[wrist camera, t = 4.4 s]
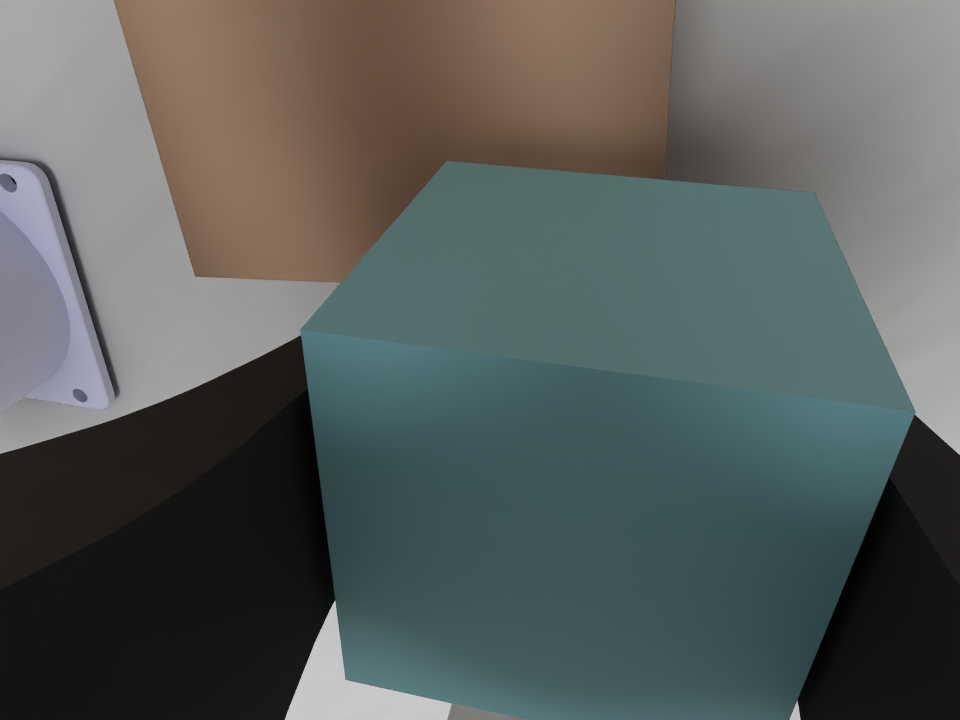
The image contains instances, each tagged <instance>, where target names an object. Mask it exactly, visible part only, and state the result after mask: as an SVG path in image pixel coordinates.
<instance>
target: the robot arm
mask: <svg viewBox="0 0 960 720" xmlns="http://www.w3.org/2000/svg"><path fill="white" fill-rule="evenodd" d="M10 176H11V177H12V178H13V179H14V180H15V182H16V184H17V185H16V184H14V183H13V181H12V179H11V178H10ZM23 397H24V398H30V399H36V400H43V401H49V402H55V403H61V404H68V405H74V406H80V407H86V408H92V409H99V410H101V409H105V408H107V407H108V406H109V405H111V404H112V403H113V402H114V399H115V394H114V391H113V387H112V384H111V381H110V378H109V374H108V371H107V368H106V365H105V361H104V358H103V355H102V352H101V348H100V345H99V342H98V339H97V335H96V332H95V329H94V326H93V322H92V319H91V316H90V313H89V309H88V306H87V303H86V300H85V296H84V293H83V290H82V287H81V283H80V280H79V277H78V274H77V270H76V267H75V264H74V261H73V257H72V254H71V251H70V248H69V244H68V241H67V238H66V235H65V231H64V228H63V225H62V222H61V218H60V215H59V212H58V209H57V205H56V202H55V199H54V196H53V192H52V189H51V186H50V183H49V180H48V178H47V176H46V174H45V173H44V172H43V171H42V170H41V169H40V168H39V167H37V166H36V165H34V164H31V163H28V162H18V161H7V160H0V415H1V414H2V413H4V412H5V411H6V410H8V409H9V408H10V407H11V406H13V405H14V404H15V403H17V402H18V401H19V400H21V399H22V398H23ZM334 601H335V593H334V585H333V578H332V570H331V562H330V554H329V547H328V539H327V531H326V523H325V516H324V508H323V500H322V493H321V485H320V477H319V469H318V462H317V454H316V446H315V438H314V431H313V423H312V415H311V408H310V400H309V392H308V384H307V377H306V369H305V361H304V353H303V346H302V338H301V336H299V337H297V338H295V339H293V340H291V341H289V342H288V343H286V344H284V345H282V346H280V347H278V348H276V349H274V350H273V351H271V352H269V353H267V354H265V355H263V356H261V357H259V358H257V359H255V360H253V361H250V362H248V363H246V364H244V365H242V366H240V367H238V368H236V369H234V370H232V371H230V372H227V373H225V374H223V375H221V376H219V377H217V378H215V379H213V380H211V381H209V382H206V383H204V384H202V385H200V386H198V387H196V388H193V389H191V390H189V391H186V392H184V393H182V394H179V395H177V396H174V397H172V398H170V399H167V400H165V401H162V402H160V403H157V404H154V405H152V406H149V407H146V408H144V409H141V410H138V411H136V412H133V413H130V414H128V415H125V416H122V417H120V418H117V419H114V420H111V421H108V422H105V423H102V424H99V425H96V426H93V427H90V428H86V429H83V430H80V431H76V432H73V433H70V434H66V435H63V436H60V437H56V438H53V439H50V440H47V441H43V442H40V443H37V444H33V445H30V446H27V447H23V448H20V449H17V450H13V451H9V452H6V453H2V454H0V720H285V717H286V714H287V712H288V709H289V706H290V704H291V701H292V699H293V696H294V694H295V691H296V689H297V686H298V684H299V681H300V678H301V676H302V673H303V671H304V668H305V666H306V663H307V661H308V658H309V656H310V653H311V651H312V648H313V645H314V643H315V641H316V638H317V636H318V634H319V632H320V630H321V628H322V626H323V623H324V621H325V619H326V617H327V615H328V613H329V611H330V609H331V607H332V605H333V603H334ZM797 700H798V705H799V711H800V718H801V720H960V455H959V454H958V453H957V452H956V451H954V450H953V449H952V448H951V447H950V446H949V445H948V444H947V443H945V442H944V441H943V440H942V439H941V438H940V437H939V436H938V435H937V434H935V433H934V432H933V431H932V430H931V429H930V428H929V427H928V426H927V425H925V424H924V423H923V422H922V421H921V420H920V419H919V418H918V417H917V416H916V415H915V414H914V417H913V419H912V422H911V424H910V427H909V429H908V432H907V434H906V436H905V439H904V441H903V444H902V446H901V449H900V451H899V453H898V456H897V458H896V461H895V463H894V466H893V468H892V470H891V473H890V475H889V478H888V480H887V483H886V485H885V488H884V490H883V492H882V495H881V497H880V500H879V502H878V505H877V507H876V509H875V512H874V514H873V517H872V519H871V522H870V524H869V526H868V529H867V531H866V534H865V536H864V539H863V541H862V544H861V546H860V548H859V551H858V553H857V556H856V558H855V561H854V563H853V565H852V568H851V570H850V573H849V575H848V578H847V580H846V583H845V585H844V587H843V590H842V592H841V595H840V597H839V600H838V602H837V604H836V607H835V609H834V612H833V614H832V617H831V619H830V621H829V624H828V626H827V629H826V631H825V634H824V636H823V639H822V641H821V643H820V646H819V648H818V651H817V653H816V656H815V658H814V660H813V663H812V665H811V668H810V670H809V673H808V675H807V678H806V680H805V682H804V685H803V687H802V690H801V692H800V695H799V697H798V699H797Z"/></svg>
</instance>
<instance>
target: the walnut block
mask: <svg viewBox="0 0 960 720" xmlns="http://www.w3.org/2000/svg"><path fill="white" fill-rule="evenodd" d="M675 1H676V0H114V3H115V6H116V9H117V13H118V16H119V20H120V23H121V26H122V30H123V33H124V37H125V40H126V43H127V47H128V50H129V53H130V57H131V60H132V64H133V67H134V70H135V74H136V77H137V81H138V84H139V87H140V91H141V94H142V98H143V101H144V104H145V108H146V111H147V115H148V118H149V121H150V125H151V128H152V132H153V135H154V138H155V142H156V145H157V148H158V152H159V155H160V159H161V162H162V165H163V169H164V172H165V176H166V179H167V182H168V186H169V189H170V193H171V196H172V199H173V203H174V206H175V210H176V213H177V216H178V220H179V223H180V227H181V230H182V233H183V237H184V240H185V243H186V247H187V250H188V254H189V257H190V260H191V264H192V267H193V271H194V274H195V277H217V278H242V279H267V280H291V281H316V282H342V281H343V280H344V279H345V278H346V277H347V275H348V274H349V273H350V272H351V271H352V270H353V268H354V267H355V266H356V265H357V264H358V263H359V262H360V260H361V259H362V258H363V257H364V256H365V255H366V253H367V252H368V251H369V250H370V249H371V248H372V247H373V245H374V244H375V243H376V242H377V241H378V240H379V238H380V237H381V236H382V235H383V234H384V233H385V232H386V230H387V229H388V228H389V227H390V226H391V225H392V224H393V222H394V221H395V220H396V219H397V218H398V217H399V215H400V214H401V213H402V212H403V211H404V210H405V209H406V207H407V206H408V205H409V204H410V203H411V202H412V200H413V199H414V198H415V197H416V196H417V195H418V194H419V192H420V191H421V190H422V189H423V188H424V187H425V185H426V184H427V183H428V182H429V181H430V180H431V179H432V177H433V176H434V175H435V174H436V173H437V172H438V170H439V169H440V168H441V167H442V166H443V165H444V164H445V162H446V161H453V162H465V163H476V164H488V165H499V166H511V167H522V168H534V169H545V170H557V171H568V172H580V173H591V174H603V175H614V176H626V177H637V178H648V179H660V180H664V178H665V161H666V145H667V129H668V113H669V97H670V81H671V65H672V49H673V33H674V17H675Z"/></svg>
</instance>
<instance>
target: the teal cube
mask: <svg viewBox="0 0 960 720" xmlns="http://www.w3.org/2000/svg"><path fill="white" fill-rule="evenodd" d="M301 338H302V346H303V353H304V361H305V369H306V377H307V384H308V392H309V400H310V408H311V415H312V423H313V431H314V438H315V446H316V454H317V462H318V469H319V477H320V485H321V493H322V500H323V508H324V516H325V523H326V531H327V539H328V547H329V554H330V562H331V570H332V578H333V585H334V593H335V601H336V608H337V616H338V624H339V632H340V639H341V647H342V655H343V663H344V670H345V678H346V680H349V681H353V682H358V683H362V684H367V685H371V686H376V687H380V688H385V689H390V690H394V691H399V692H403V693H408V694H412V695H417V696H421V697H426V698H430V699H435V700H439V701H444V702H449V703H453V704H458V705H462V706H467V707H471V708H476V709H480V710H485V711H489V712H494V713H498V714H503V715H507V716H512V717H517V718H521V719H526V720H789V719H790V716H791V714H792V712H793V709H794V707H795V704H796V702H797V699H798V697H799V695H800V692H801V690H802V687H803V685H804V682H805V680H806V678H807V675H808V673H809V670H810V668H811V665H812V663H813V660H814V658H815V656H816V653H817V651H818V648H819V646H820V643H821V641H822V639H823V636H824V634H825V631H826V629H827V626H828V624H829V621H830V619H831V617H832V614H833V612H834V609H835V607H836V604H837V602H838V600H839V597H840V595H841V592H842V590H843V587H844V585H845V583H846V580H847V578H848V575H849V573H850V570H851V568H852V565H853V563H854V561H855V558H856V556H857V553H858V551H859V548H860V546H861V544H862V541H863V539H864V536H865V534H866V531H867V529H868V526H869V524H870V522H871V519H872V517H873V514H874V512H875V509H876V507H877V505H878V502H879V500H880V497H881V495H882V492H883V490H884V488H885V485H886V483H887V480H888V478H889V475H890V473H891V470H892V468H893V466H894V463H895V461H896V458H897V456H898V453H899V451H900V449H901V446H902V444H903V441H904V439H905V436H906V434H907V432H908V429H909V427H910V424H911V422H912V419H913V417H914V414H915V409H914V407H913V405H912V403H911V401H910V399H909V397H908V394H907V392H906V390H905V388H904V386H903V384H902V381H901V379H900V377H899V375H898V373H897V371H896V368H895V366H894V364H893V362H892V360H891V358H890V355H889V353H888V351H887V349H886V347H885V345H884V342H883V340H882V338H881V336H880V334H879V332H878V329H877V327H876V325H875V323H874V321H873V319H872V316H871V314H870V312H869V310H868V308H867V306H866V304H865V301H864V299H863V297H862V295H861V293H860V291H859V288H858V286H857V284H856V282H855V280H854V278H853V275H852V273H851V271H850V269H849V267H848V265H847V262H846V260H845V258H844V256H843V254H842V252H841V249H840V247H839V245H838V243H837V241H836V239H835V236H834V234H833V232H832V230H831V228H830V226H829V223H828V221H827V219H826V217H825V215H824V213H823V211H822V208H821V206H820V204H819V202H818V200H817V198H816V195H815V193H809V192H798V191H786V190H775V189H763V188H752V187H740V186H729V185H717V184H706V183H694V182H683V181H671V180H660V179H648V178H637V177H626V176H614V175H603V174H591V173H580V172H568V171H557V170H545V169H534V168H522V167H511V166H499V165H488V164H476V163H465V162H453V161H446V162H445V164H444V165H443V166H442V167H441V168H440V169H439V170H438V172H437V173H436V174H435V175H434V176H433V177H432V179H431V180H430V181H429V182H428V183H427V184H426V185H425V187H424V188H423V189H422V190H421V191H420V192H419V194H418V195H417V196H416V197H415V198H414V199H413V200H412V202H411V203H410V204H409V205H408V206H407V207H406V209H405V210H404V211H403V212H402V213H401V214H400V215H399V217H398V218H397V219H396V220H395V221H394V222H393V224H392V225H391V226H390V227H389V228H388V229H387V230H386V232H385V233H384V234H383V235H382V236H381V237H380V238H379V240H378V241H377V242H376V243H375V244H374V245H373V247H372V248H371V249H370V250H369V251H368V252H367V253H366V255H365V256H364V257H363V258H362V259H361V260H360V262H359V263H358V264H357V265H356V266H355V267H354V268H353V270H352V271H351V272H350V273H349V274H348V275H347V277H346V278H345V279H344V280H343V281H342V282H341V283H340V285H339V286H338V287H337V288H336V289H335V290H334V292H333V293H332V294H331V295H330V296H329V297H328V298H327V300H326V301H325V302H324V303H323V304H322V305H321V307H320V308H319V309H318V310H317V311H316V312H315V313H314V315H313V316H312V317H311V318H310V319H309V320H308V322H307V323H306V324H305V325H304V326H303V327H302V328H301Z"/></svg>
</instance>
